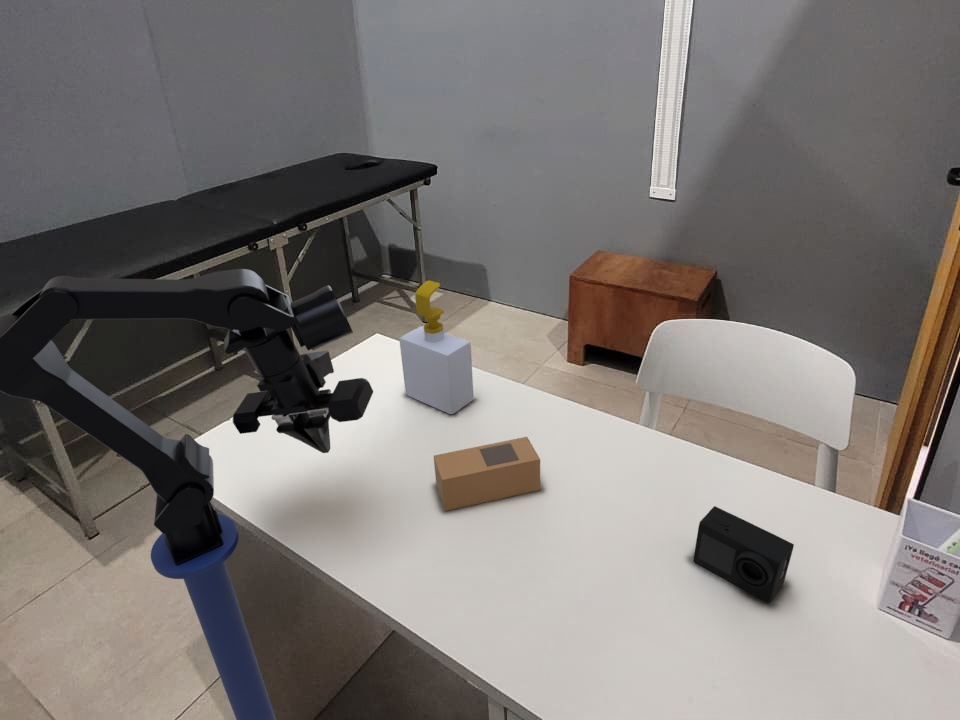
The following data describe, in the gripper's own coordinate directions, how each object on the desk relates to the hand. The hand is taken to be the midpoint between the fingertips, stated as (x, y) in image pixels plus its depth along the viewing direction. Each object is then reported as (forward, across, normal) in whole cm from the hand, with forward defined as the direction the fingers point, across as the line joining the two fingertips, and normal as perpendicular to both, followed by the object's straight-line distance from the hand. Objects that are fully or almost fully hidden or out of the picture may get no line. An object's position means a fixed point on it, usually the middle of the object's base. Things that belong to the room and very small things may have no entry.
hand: (327, 450), depth 91 cm
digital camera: (+22, -52, +7) cm, 57 cm away
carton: (+12, -12, -4) cm, 17 cm away
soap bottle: (+17, -5, -31) cm, 35 cm away
